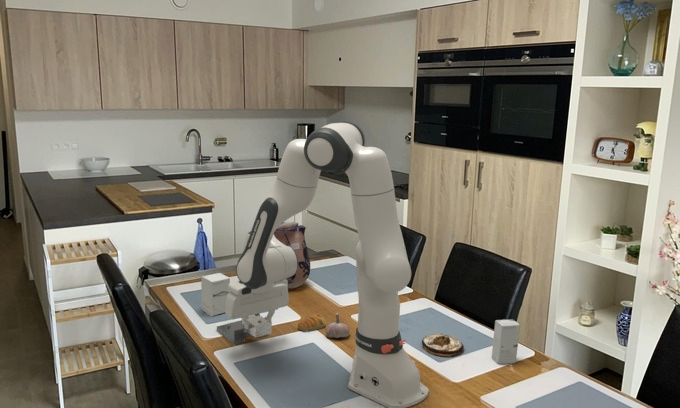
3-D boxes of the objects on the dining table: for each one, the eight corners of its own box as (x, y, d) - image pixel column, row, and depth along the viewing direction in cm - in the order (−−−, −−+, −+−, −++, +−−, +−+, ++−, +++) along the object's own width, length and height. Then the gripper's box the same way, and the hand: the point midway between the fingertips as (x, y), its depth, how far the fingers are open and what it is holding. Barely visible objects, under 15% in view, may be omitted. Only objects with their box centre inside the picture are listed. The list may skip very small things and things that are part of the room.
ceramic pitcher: (308, 294, 211) (309, 231, 206) (253, 292, 211) (254, 229, 206) (311, 279, 228) (312, 220, 223) (260, 277, 228) (261, 218, 223)
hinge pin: (272, 327, 180) (272, 320, 179) (266, 329, 179) (266, 322, 178) (259, 318, 187) (259, 312, 186) (253, 320, 185) (253, 313, 185)
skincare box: (498, 364, 160) (501, 326, 158) (490, 357, 165) (494, 319, 162) (517, 363, 162) (521, 324, 159) (509, 356, 166) (513, 318, 164)
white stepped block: (271, 333, 165) (271, 321, 165) (255, 337, 162) (255, 325, 161) (254, 322, 173) (254, 311, 173) (238, 326, 170) (238, 314, 169)
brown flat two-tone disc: (436, 364, 160) (437, 351, 160) (409, 343, 174) (410, 330, 173) (476, 355, 167) (477, 343, 166) (447, 335, 180) (448, 323, 179)
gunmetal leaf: (268, 335, 174) (268, 321, 173) (234, 344, 167) (234, 331, 166) (249, 322, 184) (249, 309, 183) (216, 330, 176) (216, 317, 175)
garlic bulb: (322, 338, 173) (323, 315, 172) (330, 329, 180) (331, 307, 179) (344, 343, 171) (345, 319, 169) (352, 334, 178) (353, 310, 176)
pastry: (305, 334, 176) (306, 323, 175) (292, 328, 181) (293, 317, 180) (327, 327, 182) (327, 316, 182) (314, 320, 187) (314, 310, 187)
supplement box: (211, 317, 187) (210, 281, 184) (201, 310, 192) (200, 275, 190) (230, 311, 192) (230, 277, 189) (219, 305, 197) (219, 272, 194)
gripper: (282, 273, 172) (281, 314, 175) (222, 285, 159) (223, 329, 162) (293, 278, 167) (292, 321, 170) (233, 291, 154) (233, 337, 157)
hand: (258, 325), depth 166 cm, fingers closed on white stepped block, 5 cm apart
